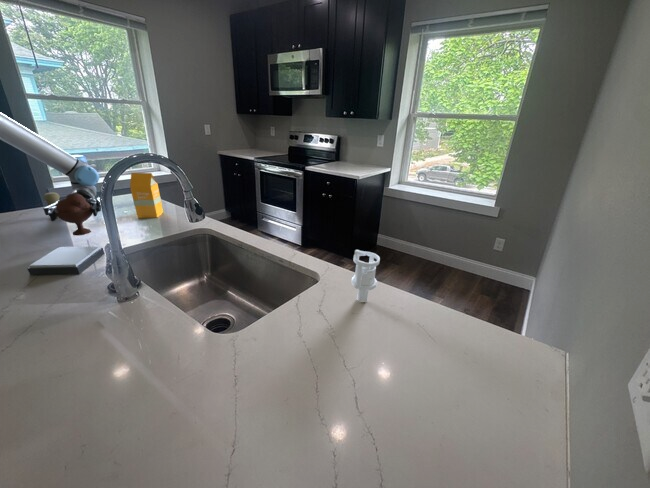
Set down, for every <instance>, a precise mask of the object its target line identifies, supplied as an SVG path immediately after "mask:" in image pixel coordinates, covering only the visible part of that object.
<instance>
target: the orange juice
mask: <svg viewBox="0 0 650 488" xmlns="http://www.w3.org/2000/svg"><path fill="white" fill-rule="evenodd" d="M130 174H131V175H130V185H129V188H130V192H131V196H132V200H133V205H134V209H135V212H136V217H137V218H138V219H157V218H159V217H160V216H161V215H162V214H163V213H164V209H163V202H162V198H161V193H160V189H159V184H158V182H157V181H156V178H155V177H154V175H153V173H152V172H130Z"/></svg>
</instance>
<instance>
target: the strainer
mask: <svg viewBox="0 0 650 488" xmlns="http://www.w3.org/2000/svg"><path fill="white" fill-rule="evenodd" d="M365 256H367V257H369V258H368V259H369V260H368V262H365V261H363V260H361V259H360V257H365ZM352 259H353V263H354V264H355V271H354V275H353V276H352V277H351V282H350V283H351V285H352V287H354V288H355V289H357V296H356V301H357V300H358V301H359V302H358V301H357V302H358V303H361V302H365V303H367V302H368V299H369V291H372V290H375V289H376V288H377V286H378V280H377V278H375V277H376V271H377V267H378V266H379V265H380V261H381V257H380V256H379V255H378V254H377V253H375V252H371V251H366V250H365V251H364V250H360V249H355V250H354V254H353V258H352Z"/></svg>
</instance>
